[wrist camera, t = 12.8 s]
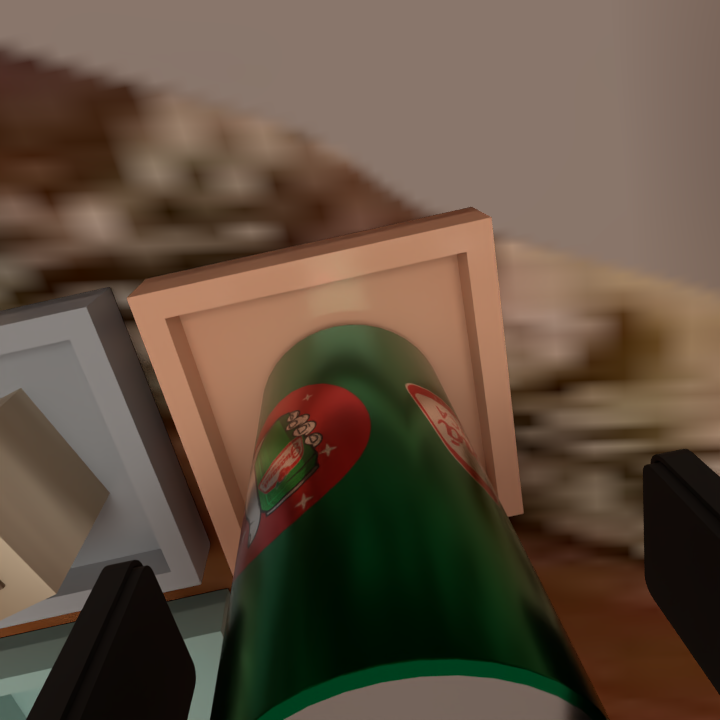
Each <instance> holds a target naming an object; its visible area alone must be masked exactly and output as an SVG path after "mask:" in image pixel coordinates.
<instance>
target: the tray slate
mask: <svg viewBox="0 0 720 720" xmlns="http://www.w3.org/2000/svg"><path fill="white" fill-rule="evenodd" d="M20 388H22V389H23V391H24V392H25V393H26V394H27V395H28V397H29V398H30V399H31V400H32V401H33V402H34V404H35V405H36V406H37V407H38V408H39V410H40V411H41V412H42V413H43V414H44V415H45V417H46V418H47V419H48V420H49V421H50V423H51V424H52V425H53V426H54V427H55V428H56V430H57V431H58V432H59V433H60V434H61V436H62V437H63V438H64V439H65V440H66V442H67V443H68V444H69V445H70V446H71V447H72V449H73V450H74V451H75V452H76V453H77V455H78V456H79V457H80V458H81V459H82V460H83V462H84V463H85V464H86V465H87V466H88V468H89V469H90V470H91V471H92V472H93V473H94V475H95V476H96V477H97V478H98V479H99V481H100V482H101V483H102V484H103V485H104V486H105V488H106V489H107V490H108V491H109V492H110V494H109V496H108V498H107V500H106V502H105V503H104V505H103V507H102V509H101V511H100V513H99V515H98V517H97V518H96V520H95V522H94V524H93V526H92V528H91V530H90V532H89V534H88V535H87V537H86V539H85V541H84V543H83V545H82V547H81V549H80V551H79V552H78V554H77V556H76V558H75V560H74V562H73V564H72V566H71V568H70V569H69V571H68V573H67V575H66V577H65V579H64V581H63V583H62V584H61V586H60V588H59V590H58V592H57V594H55V595H53V596H51V597H49V598H47V599H45V600H43V601H41V602H39V603H36V604H34V605H32V606H30V607H28V608H26V609H24V610H22V611H20V612H17V613H15V614H13V615H11V616H9V617H7V618H5V619H3V620H1V621H0V628H4V627H9V626H13V625H18V624H22V623H27V622H32V621H36V620H41V619H45V618H50V617H54V616H59V615H63V614H68V613H73V612H77V611H81V610H82V608H83V606H84V604H85V602H86V600H87V598H88V597H89V595H90V593H91V591H92V589H93V587H94V585H95V583H96V581H97V579H98V577H99V575H100V573H101V571H102V570H103V568H104V567H105V566H107V565H111V564H116V563H121V562H126V561H131V560H139V561H140V562H141V563H142V565H143V566H146V565H148V566H150V567H151V568H152V570H153V572H154V574H155V576H156V579H157V581H158V583H159V585H160V588H161V590H162V592H163V593H164V592H168V591H173V590H177V589H182V588H186V587H191V586H195V585H200V584H201V583H202V579H203V574H204V570H205V566H206V561H207V557H208V553H209V548H210V541H209V539H208V536H207V534H206V531H205V529H204V526H203V523H202V521H201V518H200V516H199V513H198V511H197V508H196V506H195V503H194V500H193V498H192V495H191V493H190V490H189V488H188V485H187V483H186V480H185V477H184V475H183V472H182V470H181V467H180V465H179V462H178V460H177V457H176V454H175V452H174V449H173V447H172V444H171V442H170V439H169V437H168V434H167V431H166V429H165V426H164V424H163V421H162V419H161V416H160V414H159V411H158V408H157V406H156V403H155V401H154V398H153V396H152V393H151V391H150V388H149V385H148V383H147V380H146V378H145V375H144V373H143V370H142V368H141V365H140V362H139V360H138V357H137V355H136V352H135V350H134V347H133V345H132V342H131V339H130V337H129V334H128V332H127V329H126V327H125V324H124V322H123V319H122V316H121V314H120V311H119V309H118V306H117V304H116V301H115V299H114V296H113V293H112V291H111V288H110V287H107V288H103V289H98V290H94V291H89V292H85V293H80V294H76V295H71V296H67V297H62V298H58V299H53V300H48V301H44V302H39V303H35V304H30V305H26V306H21V307H17V308H12V309H8V310H3V311H0V399H1V398H3V397H4V396H6V395H8V394H10V393H12V392H14V391H16V390H18V389H20Z"/></svg>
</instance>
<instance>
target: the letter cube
mask: <svg viewBox="0 0 720 720" xmlns="http://www.w3.org/2000/svg"><path fill="white" fill-rule="evenodd" d="M109 494H110V492H109V491H108V490H107V489H106V488H105V486H104V485H103V484H102V483H101V482H100V481H99V479H98V478H97V477H96V476H95V475H94V473H93V472H92V471H91V470H90V469H89V468H88V466H87V465H86V464H85V463H84V462H83V460H82V459H81V458H80V457H79V456H78V455H77V453H76V452H75V451H74V450H73V449H72V447H71V446H70V445H69V444H68V443H67V442H66V440H65V439H64V438H63V437H62V436H61V434H60V433H59V432H58V431H57V430H56V428H55V427H54V426H53V425H52V424H51V423H50V421H49V420H48V419H47V418H46V417H45V415H44V414H43V413H42V412H41V411H40V410H39V408H38V407H37V406H36V405H35V404H34V402H33V401H32V400H31V399H30V398H29V397H28V395H27V394H26V393H25V392H24V391H23V389H22V388H20V389H18V390H16V391H14V392H12V393H10V394H8V395H6V396H4V397H3V398H1V399H0V621H1V620H3V619H5V618H7V617H9V616H11V615H13V614H15V613H17V612H20V611H22V610H24V609H26V608H28V607H30V606H32V605H34V604H36V603H39V602H41V601H43V600H45V599H47V598H49V597H51V596H53V595H55V594H57V592H58V590H59V588H60V586H61V584H62V583H63V581H64V579H65V577H66V575H67V573H68V571H69V569H70V568H71V566H72V564H73V562H74V560H75V558H76V556H77V554H78V552H79V551H80V549H81V547H82V545H83V543H84V541H85V539H86V537H87V535H88V534H89V532H90V530H91V528H92V526H93V524H94V522H95V520H96V518H97V517H98V515H99V513H100V511H101V509H102V507H103V505H104V503H105V502H106V500H107V498H108V496H109Z"/></svg>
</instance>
